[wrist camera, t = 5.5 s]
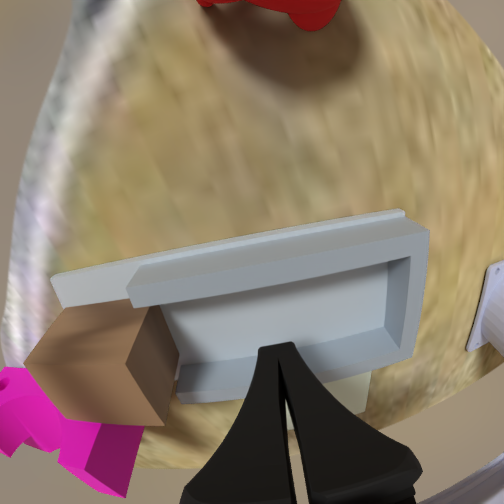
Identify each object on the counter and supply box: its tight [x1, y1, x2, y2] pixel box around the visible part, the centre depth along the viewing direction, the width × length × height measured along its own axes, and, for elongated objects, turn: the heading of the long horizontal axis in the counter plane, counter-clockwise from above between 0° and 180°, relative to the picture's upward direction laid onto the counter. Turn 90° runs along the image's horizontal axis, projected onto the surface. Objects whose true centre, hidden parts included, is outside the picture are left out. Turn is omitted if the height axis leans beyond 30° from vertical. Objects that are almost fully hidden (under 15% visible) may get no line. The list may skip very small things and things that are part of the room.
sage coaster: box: [285, 371, 372, 430], centre depth 17 cm, size 7×7×1 cm
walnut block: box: [23, 298, 180, 426], centre depth 12 cm, size 6×4×5 cm, turn 100°
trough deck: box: [50, 208, 430, 404], centre depth 14 cm, size 19×8×3 cm, turn 100°
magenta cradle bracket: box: [0, 367, 145, 498], centre depth 14 cm, size 15×6×8 cm, turn 103°
